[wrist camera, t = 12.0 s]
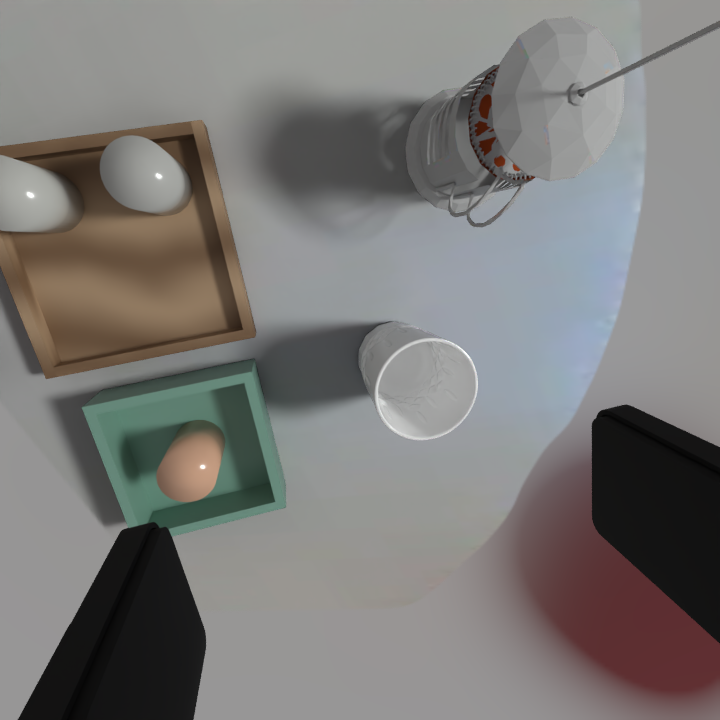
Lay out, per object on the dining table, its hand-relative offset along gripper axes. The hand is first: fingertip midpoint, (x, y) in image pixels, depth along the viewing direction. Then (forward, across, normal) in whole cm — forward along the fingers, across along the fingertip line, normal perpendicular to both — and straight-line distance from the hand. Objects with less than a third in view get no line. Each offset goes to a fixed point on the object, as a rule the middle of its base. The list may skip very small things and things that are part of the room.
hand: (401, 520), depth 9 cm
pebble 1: (+30, +17, -12) cm, 36 cm away
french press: (+31, -15, -10) cm, 35 cm away
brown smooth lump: (+30, +12, +10) cm, 34 cm away
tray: (+30, +13, -7) cm, 34 cm away
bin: (+30, +12, +10) cm, 34 cm away
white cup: (+31, -7, +6) cm, 32 cm away
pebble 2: (+30, +9, -12) cm, 33 cm away
